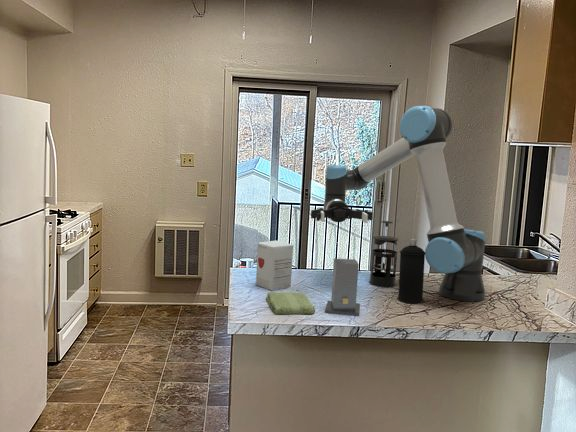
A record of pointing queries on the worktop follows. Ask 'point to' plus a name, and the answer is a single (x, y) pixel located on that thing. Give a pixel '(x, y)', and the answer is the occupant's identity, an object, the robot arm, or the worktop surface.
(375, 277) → the french press
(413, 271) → the aerosol can
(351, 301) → the grey block
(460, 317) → the worktop surface
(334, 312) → the post base
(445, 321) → the worktop surface
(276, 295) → the washcloth
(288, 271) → the supplement box
